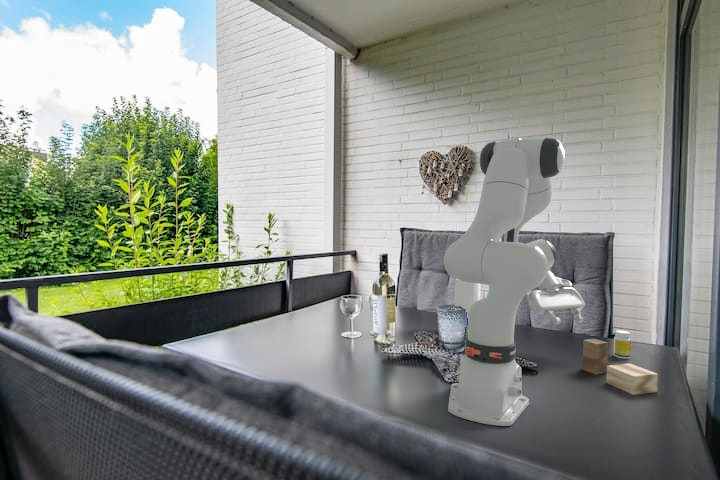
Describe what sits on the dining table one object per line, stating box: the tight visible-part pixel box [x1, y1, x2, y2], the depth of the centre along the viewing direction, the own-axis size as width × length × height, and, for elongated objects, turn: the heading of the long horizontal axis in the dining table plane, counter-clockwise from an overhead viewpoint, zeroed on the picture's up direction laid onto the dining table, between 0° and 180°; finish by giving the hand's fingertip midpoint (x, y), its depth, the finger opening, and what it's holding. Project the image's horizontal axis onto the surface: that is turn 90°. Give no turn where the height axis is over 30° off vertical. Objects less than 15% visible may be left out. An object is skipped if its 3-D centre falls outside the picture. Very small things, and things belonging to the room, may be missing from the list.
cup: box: [454, 278, 482, 318], centre depth 159 cm, size 10×10×22 cm
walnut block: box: [581, 338, 609, 376], centre depth 119 cm, size 4×4×9 cm
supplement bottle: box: [612, 329, 632, 360], centre depth 132 cm, size 5×5×8 cm
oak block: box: [605, 363, 659, 396], centre depth 107 cm, size 8×8×5 cm
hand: (569, 322), depth 127 cm, fingers open, 8 cm apart
